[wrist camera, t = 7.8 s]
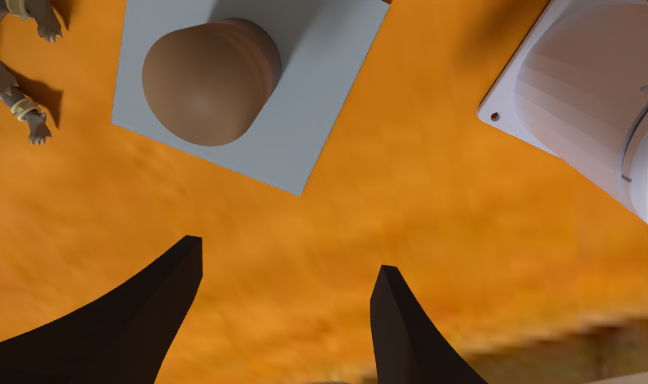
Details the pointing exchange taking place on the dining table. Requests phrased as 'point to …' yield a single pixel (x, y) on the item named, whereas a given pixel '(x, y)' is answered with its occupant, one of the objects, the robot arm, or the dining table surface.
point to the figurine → (25, 4)
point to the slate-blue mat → (293, 87)
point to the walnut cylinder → (211, 79)
